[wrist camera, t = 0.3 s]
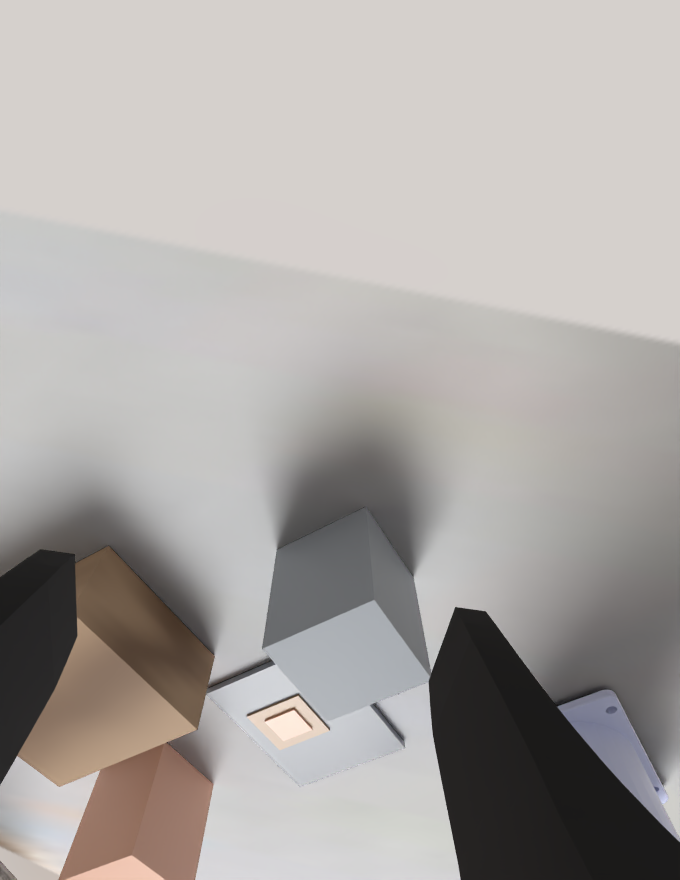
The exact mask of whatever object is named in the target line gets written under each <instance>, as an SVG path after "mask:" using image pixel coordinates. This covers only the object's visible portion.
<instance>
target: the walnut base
mask: <svg viewBox="0 0 680 880" xmlns="http://www.w3.org/2000/svg"><path fill="white" fill-rule="evenodd" d="M75 576H76V605H77V634H78V636H77V639H76V641H75V643H74V646H73V648H72V651H71V653H70V655H69V658H68V660H67V663H66V665H65V667H64V670H63V672H62V674H61V676H60V679H59V681H58V683H57V685H56V688H55V690H54V692H53V693H52V695H51V697H50V699H49V701H48V702H47V704H46V706H45V708H44V709H43V711H42V713H41V715H40V716H39V718H38V720H37V722H36V724H35V725H34V727H33V729H32V731H31V732H30V734H29V736H28V738H27V739H26V741H25V743H24V745H23V746H22V748H21V750H20V751H19V753H18V755H17V756H18V757H20V758H21V759H22V760H24V761H25V762H26V763H28V764H29V765H30V766H32V767H33V768H34V769H36V770H37V771H38V772H40V773H41V774H42V775H44V776H45V777H46V778H48V779H49V780H50V781H52V782H53V783H55V784H56V785H57V786H59V787H60V786H63V785H65V784H67V783H70V782H72V781H75V780H77V779H80V778H82V777H84V776H87V775H89V774H92V773H94V772H96V771H99V770H101V769H104V768H106V767H108V766H111V765H113V764H116V763H118V762H121V761H123V760H125V759H128V758H130V757H133V756H135V755H137V754H140V753H142V752H145V751H147V750H150V749H152V748H154V747H157V746H159V745H162V744H164V743H166V742H169V741H171V740H174V739H176V738H178V737H181V736H183V735H186V734H188V733H191V732H193V731H195V730H197V729H198V725H199V721H200V717H201V712H202V708H203V704H204V700H205V696H206V691H207V687H208V683H209V679H210V675H211V670H212V666H213V662H214V658H215V656H214V655H213V654H212V653H211V652H210V651H209V650H208V649H207V648H206V647H205V646H204V645H203V644H202V643H201V642H200V641H199V639H198V638H197V637H196V636H195V635H194V634H193V633H192V632H191V631H190V630H189V629H188V628H187V627H186V626H185V625H184V624H183V623H182V622H181V621H180V620H179V619H178V618H177V617H176V615H175V614H174V613H173V612H172V611H171V610H170V609H169V608H168V607H167V606H166V605H165V604H164V603H163V602H162V601H161V600H160V599H159V598H158V597H157V596H156V595H155V594H154V592H153V591H152V590H151V589H150V588H149V587H148V586H147V585H146V584H145V583H144V582H143V581H142V580H141V579H140V578H139V577H138V576H137V575H136V574H135V573H134V572H133V571H132V570H131V568H130V567H129V566H128V565H127V564H126V563H125V562H124V561H123V560H122V559H121V558H120V557H119V556H118V555H117V554H116V553H115V552H114V551H113V550H112V549H111V548H110V547H109V546H107V547H105V548H103V549H102V550H100V551H98V552H96V553H94V554H92V555H90V556H88V557H86V558H84V559H83V560H81V561H79V562H77V563H75Z"/></svg>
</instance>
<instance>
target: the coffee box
mask: <svg viewBox="0 0 680 880" xmlns="http://www.w3.org/2000/svg"><path fill="white" fill-rule="evenodd" d="M0 880H17V879H16V878H15V877H14V876H13V875H12V873H11V872H10V871H9V870H8V869H7V868H6V867H5V866H4V865H3V864H2V862H1V861H0Z"/></svg>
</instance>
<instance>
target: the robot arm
mask: <svg viewBox="0 0 680 880" xmlns="http://www.w3.org/2000/svg"><path fill="white" fill-rule="evenodd" d="M77 636H78V634H77V605H76V576H75V554H70V553H62V552H55V551H48V550H39V551H38V552H36V553H35V554H33V555H32V556H30V557H29V558H27V559H26V560H24V561H23V562H21V563H20V564H18V565H17V566H16V567H14V568H13V569H11V570H10V571H8V572H7V573H5V574H4V575H3V576H1V577H0V784H1V783H2V781H3V779H4V777H5V776H6V774H7V772H8V771H9V769H10V767H11V765H12V764H13V762H14V760H15V758H16V757H17V755H18V753H19V751H20V750H21V748H22V746H23V745H24V743H25V741H26V739H27V738H28V736H29V734H30V732H31V731H32V729H33V727H34V725H35V724H36V722H37V720H38V718H39V716H40V715H41V713H42V711H43V709H44V708H45V706H46V704H47V702H48V701H49V699H50V697H51V695H52V693H53V692H54V690H55V688H56V685H57V683H58V681H59V679H60V676H61V674H62V672H63V670H64V667H65V665H66V663H67V660H68V658H69V655H70V653H71V651H72V648H73V646H74V643H75V641H76V639H77ZM429 692H430V707H431V719H432V730H433V738H434V743H435V749H436V754H437V759H438V764H439V769H440V774H441V780H442V785H443V790H444V795H445V800H446V805H447V810H448V815H449V820H450V825H451V830H452V835H453V840H454V845H455V850H456V855H457V860H458V865H459V871H460V877H461V880H680V838H679V836H678V834H677V832H676V830H675V828H674V826H673V824H672V822H671V820H670V818H669V816H668V814H667V812H666V811H665V809H664V807H663V805H662V804H664V803H666V802H667V800H668V795H667V793H666V791H665V789H664V787H663V785H662V783H661V781H660V779H659V777H658V775H657V773H656V771H655V769H654V768H653V766H652V764H651V762H650V760H649V758H648V756H647V754H646V752H645V750H644V748H643V746H642V744H641V742H640V740H639V738H638V736H637V734H636V733H635V731H634V729H633V727H632V725H631V723H630V721H629V719H628V717H627V715H626V713H625V711H624V709H623V707H622V705H621V703H620V701H619V699H618V698H617V696H616V694H615V693H614V692H613V691H611V690H601V691H598V692H596V693H593V694H590V695H587V696H585V697H582V698H579V699H576V700H573V701H571V702H568V703H565V704H562V705H560V706H556V705H555V703H554V702H553V701H552V700H551V698H550V697H549V696H548V694H547V693H546V692H545V691H544V689H543V688H542V687H541V685H540V684H539V683H538V681H537V680H536V679H535V677H534V676H533V675H532V673H531V672H530V671H529V669H528V668H527V667H526V665H525V664H524V663H523V661H522V660H521V659H520V657H519V656H518V655H517V653H516V652H515V650H514V649H513V648H512V646H511V645H510V644H509V642H508V641H507V640H506V638H505V637H504V635H503V634H502V633H501V631H500V630H499V629H498V627H497V626H496V624H495V623H494V622H493V620H492V619H491V618H490V616H489V615H488V614H487V612H486V611H479V610H472V609H464V608H457V607H455V610H454V612H453V615H452V618H451V621H450V623H449V626H448V629H447V632H446V634H445V637H444V640H443V643H442V645H441V648H440V651H439V654H438V656H437V659H436V662H435V665H434V667H433V670H432V673H431V676H430V678H429Z"/></svg>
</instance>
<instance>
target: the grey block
mask: <svg viewBox="0 0 680 880" xmlns="http://www.w3.org/2000/svg"><path fill="white" fill-rule="evenodd" d="M262 649H263V651H264V652H265V653H266V654H267V655H268V656H269V657H270V658H271V660H272V661H273V662H274V663H275V664H276V665H277V666H278V667H279V669H280V670H281V671H282V672H283V673H284V674H285V675H286V676H287V677H288V679H289V680H290V681H291V682H292V683H293V684H294V685H295V686H296V688H297V689H298V690H299V691H300V692H301V693H302V694H303V695H304V697H305V698H306V699H307V700H308V701H309V702H310V703H311V704H312V705H313V707H314V708H315V709H316V710H317V711H318V712H319V713H320V714H321V716H322V717H323V718H324V719H325V720H326V721H327V722H328V721H330V720H333V719H335V718H338V717H340V716H343V715H346V714H348V713H351V712H353V711H356V710H358V709H361V708H363V707H366V706H369V705H371V704H374V703H376V702H379V701H381V700H384V699H386V698H389V697H392V696H394V695H397V694H399V693H402V692H404V691H407V690H409V689H412V688H415V687H417V686H420V685H422V684H425V683H427V682H429V678H430V676H431V669H430V664H429V658H428V653H427V648H426V642H425V637H424V631H423V626H422V621H421V615H420V610H419V605H418V599H417V594H416V588H415V583H414V578H413V576H412V575H411V573H410V572H409V570H408V569H407V567H406V566H405V564H404V563H403V561H402V560H401V558H400V557H399V555H398V554H397V552H396V551H395V549H394V548H393V546H392V545H391V543H390V542H389V540H388V539H387V537H386V536H385V534H384V533H383V531H382V530H381V528H380V527H379V525H378V524H377V522H376V521H375V519H374V518H373V516H372V515H371V513H370V512H369V510H368V509H367V507H364V508H362V509H360V510H358V511H356V512H354V513H352V514H350V515H348V516H346V517H344V518H341V519H339V520H337V521H335V522H333V523H331V524H329V525H327V526H325V527H323V528H321V529H319V530H317V531H315V532H313V533H310V534H308V535H306V536H304V537H302V538H300V539H298V540H296V541H294V542H292V543H290V544H288V545H286V546H284V547H281V548H279V549H277V552H276V559H275V566H274V572H273V579H272V586H271V593H270V599H269V606H268V613H267V619H266V626H265V633H264V639H263V646H262Z"/></svg>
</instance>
